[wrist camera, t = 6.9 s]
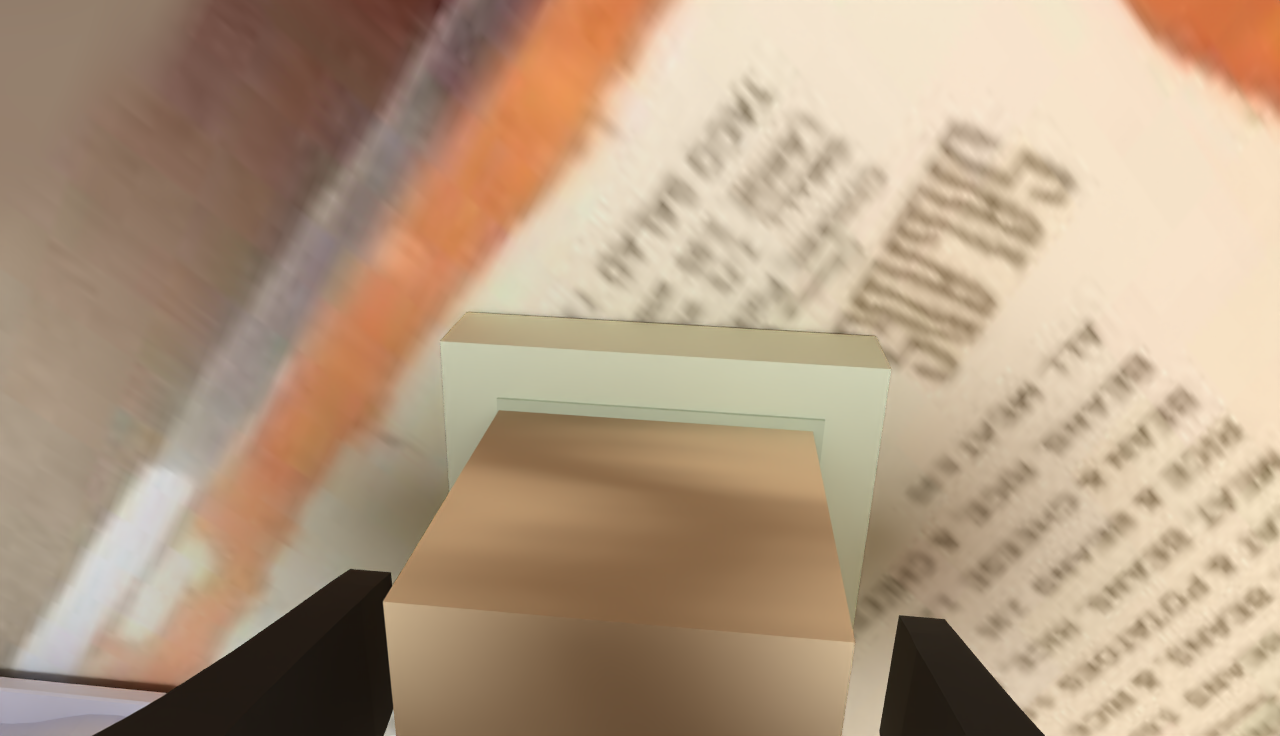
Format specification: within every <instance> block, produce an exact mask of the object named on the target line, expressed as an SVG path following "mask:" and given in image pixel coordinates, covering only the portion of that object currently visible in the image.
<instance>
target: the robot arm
mask: <svg viewBox="0 0 1280 736" xmlns="http://www.w3.org/2000/svg"><path fill="white" fill-rule="evenodd" d="M391 588H392V579H391V573H390V572H378V571H366V570H354V569H350V570H348V571H347V572H345V573H344V574H342V575H341V576H339V577H338V578H336V579H335V580H333V581H332V582H330V583H329V584H327V585H326V586H325V587H323V588H322V589H320V590H319V591H318V592H316V593H315V594H313V595H312V596H310V597H309V598H308V599H306V600H305V601H304V602H302V603H301V604H299V605H298V606H297V607H295V608H294V609H292V610H291V611H290V612H288V613H287V614H285V615H284V616H283V617H281V618H280V619H278V620H277V621H275V622H274V623H273V624H271V625H270V626H268V627H267V628H265V629H264V630H263V631H261V632H260V633H258V634H257V635H255V636H254V637H253V638H251V639H250V640H248V641H247V642H245V643H244V644H243V645H241V646H240V647H238V648H237V649H235V650H234V651H232V652H231V653H229V654H228V655H226V656H225V657H223V658H222V659H220V660H218V661H217V662H215V663H214V664H212V665H211V666H209V667H207V668H206V669H204V670H203V671H201V672H200V673H198V674H197V675H195V676H193V677H192V678H190V679H189V680H187V681H186V682H184V683H182V684H181V685H179V686H178V687H176V688H175V689H173V690H172V691H170V692H168V693H161V692H151V691H141V690H130V689H120V688H110V687H100V686H90V685H80V684H69V683H59V682H49V681H39V680H29V679H18V678H8V677H0V736H384V733H385V730H386V728H387V725H388V722H389V720H390V717H391V714H392V711H393V698H392V688H391V678H390V668H389V658H388V648H387V638H386V628H385V618H384V608H383V601H384V599H385V597H386V596H387V594H388V592H389V591H390V589H391ZM880 736H1045V735H1044V734H1043V733H1042V732H1041V731H1040V730H1039V729H1038V728H1037V726H1036V725H1035V724H1034V723H1033V722H1032V721H1031V720H1030V719H1029V718H1028V716H1027V715H1026V714H1025V713H1024V712H1023V711H1022V710H1021V709H1020V708H1019V706H1018V705H1017V704H1016V703H1015V702H1014V701H1013V700H1012V698H1011V697H1010V696H1009V695H1008V694H1007V693H1006V692H1005V690H1004V689H1003V688H1002V687H1001V686H1000V684H999V683H998V682H997V681H996V680H995V679H994V677H993V676H992V675H991V674H990V673H989V672H988V670H987V669H986V668H985V667H984V666H983V664H982V663H981V662H980V661H979V660H978V658H977V657H976V656H975V655H974V654H973V652H972V651H971V650H970V649H969V648H968V646H967V645H966V644H965V643H964V642H963V640H962V639H961V638H960V637H959V636H958V634H957V633H956V632H955V631H954V630H953V629H952V627H951V626H950V625H949V624H948V623H947V622H946V620H945V619H935V618H923V617H912V616H900V615H899V619H898V625H897V631H896V637H895V643H894V649H893V655H892V660H891V666H890V672H889V678H888V684H887V690H886V696H885V702H884V707H883V713H882V719H881V725H880Z"/></svg>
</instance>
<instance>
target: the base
mask: <svg viewBox="0 0 1280 736" xmlns="http://www.w3.org/2000/svg"><path fill="white" fill-rule="evenodd" d="M440 350H441V367H442V383H443V400H444V416H445V433H446V449H447V466H448V482H449V492H450V490H451V488H452V487H453V485H454V483H455V482H456V480H457V479H458V477H459V475H460V474H461V472H462V470H463V469H464V467H465V465H466V464H467V462H468V460H469V459H470V457H471V455H472V454H473V452H474V450H475V449H476V447H477V445H478V444H479V442H480V441H481V439H482V437H483V436H484V434H485V432H486V431H487V429H488V427H489V426H490V424H491V422H492V421H493V419H494V417H495V416H496V414H497V412H498V411H499V410H504V411H518V412H533V413H548V414H563V415H578V416H592V417H607V418H622V419H637V420H652V421H666V422H681V423H696V424H711V425H726V426H740V427H755V428H770V429H785V430H799V431H813V435H814V440H815V445H816V450H817V455H818V460H819V465H820V470H821V475H822V480H823V485H824V490H825V495H826V499H827V504H828V509H829V514H830V519H831V524H832V529H833V534H834V539H835V544H836V549H837V554H838V559H839V564H840V569H841V574H842V579H843V584H844V589H845V594H846V599H847V604H848V609H849V614H850V619H851V624H852V629H853V626H854V619H855V613H856V606H857V599H858V592H859V585H860V579H861V572H862V565H863V558H864V552H865V545H866V538H867V531H868V524H869V518H870V511H871V504H872V497H873V490H874V484H875V477H876V470H877V463H878V456H879V450H880V443H881V436H882V429H883V423H884V416H885V409H886V402H887V395H888V389H889V382H890V375H891V367H890V365H889V363H888V361H887V359H886V357H885V355H884V352H883V350H882V348H881V346H880V344H879V342H878V339H877V337H876V336H862V335H845V334H828V333H811V332H794V331H777V330H761V329H744V328H727V327H710V326H693V325H676V324H659V323H642V322H625V321H608V320H591V319H574V318H558V317H541V316H524V315H507V314H490V313H473V312H467V313H466V314H465V315H464V316H463V317H462V318H461V319H460V320H459V321H458V322H457V323H456V324H455V326H454V327H453V328H452V329H451V330H450V331H449V332H448V333H447V334H446V335H445V336H444V337H443V339H442V340H441V341H440Z"/></svg>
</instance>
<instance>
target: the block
mask: <svg viewBox="0 0 1280 736" xmlns="http://www.w3.org/2000/svg"><path fill="white" fill-rule="evenodd" d="M383 608H384V618H385V628H386V638H387V648H388V658H389V668H390V678H391V688H392V698H393V709H394V719H395V729H396V736H841V735H842V728H843V721H844V714H845V708H846V701H847V694H848V687H849V681H850V674H851V667H852V661H853V654H854V647H855V639H854V634H853V629H852V624H851V619H850V614H849V609H848V604H847V599H846V594H845V589H844V584H843V579H842V574H841V569H840V564H839V559H838V554H837V549H836V544H835V539H834V534H833V529H832V524H831V519H830V514H829V509H828V504H827V499H826V495H825V490H824V485H823V480H822V475H821V470H820V465H819V460H818V455H817V450H816V445H815V440H814V435H813V431H799V430H785V429H770V428H755V427H740V426H726V425H711V424H696V423H681V422H666V421H652V420H637V419H622V418H607V417H592V416H578V415H563V414H548V413H533V412H518V411H504V410H499V411H498V412H497V414H496V416H495V417H494V419H493V421H492V422H491V424H490V426H489V427H488V429H487V431H486V432H485V434H484V436H483V437H482V439H481V441H480V442H479V444H478V445H477V447H476V449H475V450H474V452H473V454H472V455H471V457H470V459H469V460H468V462H467V464H466V465H465V467H464V469H463V470H462V472H461V474H460V475H459V477H458V479H457V480H456V482H455V483H454V485H453V487H452V488H451V490H450V492H449V493H448V495H447V497H446V498H445V500H444V502H443V503H442V505H441V507H440V508H439V510H438V512H437V513H436V515H435V516H434V518H433V520H432V521H431V523H430V525H429V526H428V528H427V530H426V531H425V533H424V535H423V536H422V538H421V540H420V541H419V543H418V545H417V546H416V548H415V550H414V551H413V553H412V554H411V556H410V558H409V559H408V561H407V563H406V564H405V566H404V568H403V569H402V571H401V573H400V574H399V576H398V578H397V579H396V581H395V583H394V584H393V586H392V588H391V589H390V591H389V592H388V594H387V596H386V597H385V599H384V601H383Z"/></svg>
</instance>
